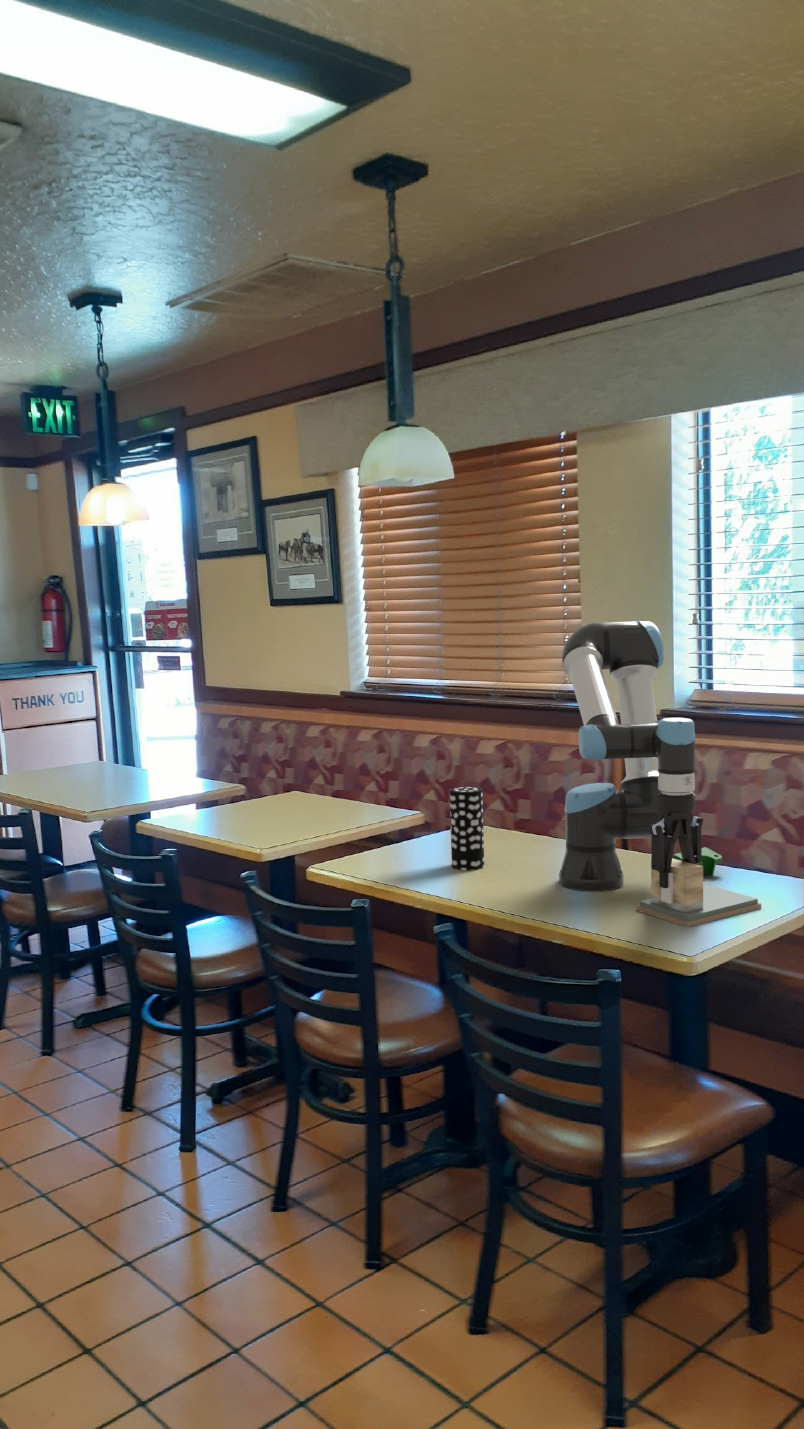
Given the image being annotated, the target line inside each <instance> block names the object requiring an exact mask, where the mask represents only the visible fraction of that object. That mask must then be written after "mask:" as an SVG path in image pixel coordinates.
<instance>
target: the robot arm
mask: <svg viewBox="0 0 804 1429" xmlns="http://www.w3.org/2000/svg"><path fill="white" fill-rule="evenodd" d="M664 651H665V649H664V643H663V638H662V635H661V632H660V630H659V628H658V627H657V626H656V624H655V623H653V622H652V621H641V620H634V621H612V622H611V621H610V622H591V623H588V624H585V625H583V626H581V627H579V628H577V630H576V631H574V632H573V633H572V634H571V636H569V638H568V639H567V641H566V643H565V644H564V646H563V649H562V653H561V654H562V655H561V662H562V666H563V670H564V673H565V674H566V676H568V677H569V678H570V679H571V680H570V681H571V684H572V688H573V692H574V694H575V698H576V702H577V704H578V710H579V712H580V716H581V719H582V724H583V725H582V726H580V727H579V730H578V734H577V735H578V737H577V738H578V739H577V740H578V748H579V750H578V751H579V754H580V756H581V758H583V759H584V760H598V761H601V760H614V759H615V760H617V759H624V765H625V766H624V769H625V776H624V779H623V780H622V781H620V789H617V787H616V786H615V785H614V784H613V783H611V782H595V783H587V784H582V785H579V786H575V787H573V788H571V789H569V790H568V792H567V793H566V795H565V801H564V802H565V804H564V810H563V811H564V813H565V853H564V857H563V860H562V864H561V869H560V870H559V873H558V882H559V884H560V885H561V886H562V887H564V888H568V889H572V890H576V891H585V892H586V891H591V892H597V891H598V892H599V891H610V890H614V889H617V888H620V887H622V886H623V885H624V883H625V882H624V871H623V870H622V868H621V863H620V860H619V857H618V855H617V851H616V850H617V849H616V845H617V844H616V843H617V842H616V840H618V839H619V840H621V839H622V840H623V839H625V840H626V839H647V838H648V839H650V838H651V851H650V852H651V860H650V867H651V868H652V870H656V871H658V872H659V885H660V887H661V901H663V902H666V903H669V904H673V873H671V872H670V868H671V863H672V858H673V856H674V851H675V846H676V843H677V841H678V844H679V849H680V853H681V855H682V860H683V861H684V862H688V863H692V864H696V865H698V863H699V864H700V863H701V862H702V848H703V847H702V828H703V823H704V818H703V817H700V816H699V817H698V816H695V815H694V813H693V812H694V811H695V810H696V794H695V793H694V791H695V789H696V781H695V778H696V777H695V776H696V775H695V770H696V769H695V768H696V767H695V766H696V764H695V763H696V760H695V759H696V755H695V754H696V733H695V732H696V731H695V722H694V720H692V719H691V718H687V717H686V718H685V717H664V718H661V719H659V720H658V716H657V706H656V700H655V698H656V697H655V690H654V682H653V680H654V678H655V677H656V676H657V675H658V673H659V668H661V667H662V666H663V664H664V659H665V654H664ZM603 670H609V678H610V679H611V680H612V681H614V682H615V683H616V686H617V693H618V694H617V695H618V704H619V705H618V706H619V707H618V708H619V715H620V716H619V717H620V723H619V719H618V717H617V716H618V715H617V714H616V713H617V712H616V710H615V708H614V704H613V701H612V698H611V694H610V691H609V688H608V685H607V682H606V679H605V675H604V672H603ZM695 856H696V857H695ZM664 866H665V867H664ZM651 868H650V869H651Z"/></svg>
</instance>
